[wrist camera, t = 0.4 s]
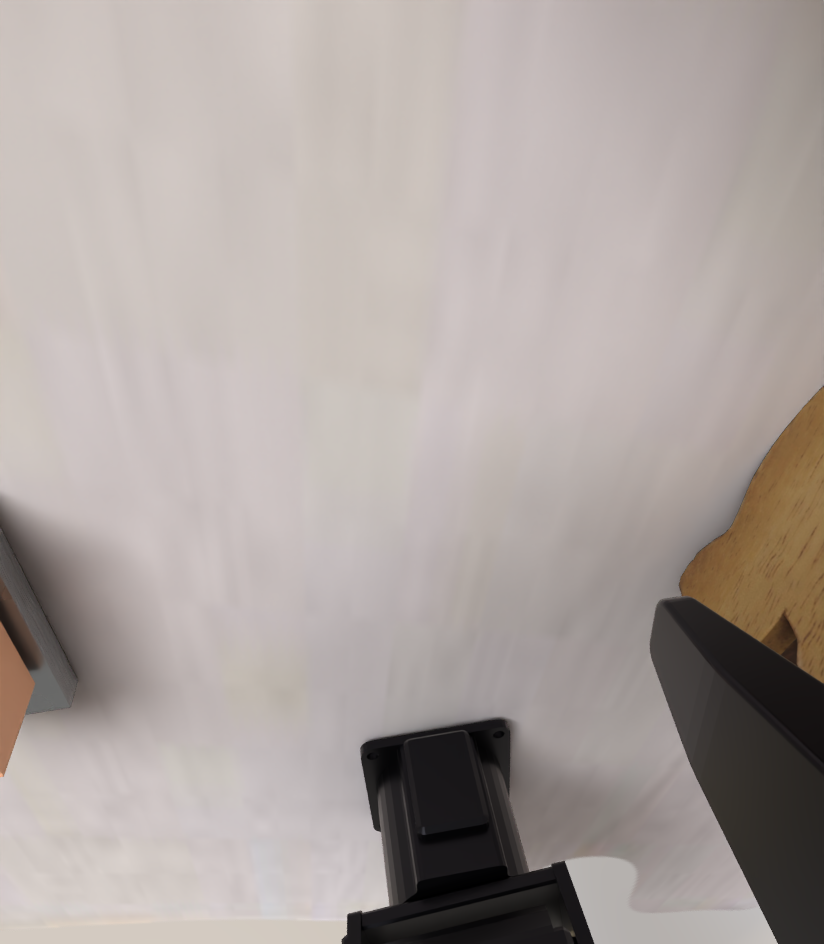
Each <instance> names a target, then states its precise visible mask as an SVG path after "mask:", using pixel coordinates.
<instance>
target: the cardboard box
mask: <svg viewBox="0 0 824 944" xmlns="http://www.w3.org/2000/svg"><path fill="white" fill-rule="evenodd" d="M34 686H35V682H34V680H33V678H32V677H31V675H30V673H29V671H28V669H27V668H26V666H25V664H24V662H23V660H22V659H21V657H20V655H19V653H18V652H17V650H16V648H15V646H14V644H13V643H12V641H11V639H10V637H9V635H8V634H7V632H6V630H5V628H4V626H3V625H2V623H1V621H0V777H3V776H4V774H5V771H6V768H7V765H8V762H9V759H10V756H11V754H12V751H13V748H14V745H15V742H16V739H17V736H18V733H19V730H20V727H21V724H22V721H23V718H24V715H25V712H26V710H27V707H28V704H29V701H30V698H31V695H32V692H33V689H34Z"/></svg>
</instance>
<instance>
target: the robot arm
mask: <svg viewBox="0 0 824 944" xmlns="http://www.w3.org/2000/svg"><path fill="white" fill-rule="evenodd" d="M650 653H651V658H652V661H653V664H654V667H655V669H656V672H657V675H658V678H659V680H660V683H661V686H662V689H663V691H664V694H665V697H666V700H667V702H668V705H669V708H670V711H671V713H672V716H673V719H674V722H675V724H676V727H677V730H678V733H679V735H680V738H681V741H682V744H683V746H684V749H685V752H686V754H687V757H688V759H689V762H690V764H691V767H692V769H693V771H694V773H695V776H696V778H697V780H698V782H699V784H700V786H701V788H702V790H703V792H704V794H705V796H706V798H707V800H708V802H709V804H710V806H711V809H712V811H713V813H714V815H715V817H716V819H717V821H718V823H719V825H720V827H721V829H722V831H723V833H724V835H725V837H726V839H727V841H728V843H729V845H730V847H731V849H732V851H733V853H734V855H735V857H736V859H737V861H738V863H739V865H740V867H741V869H742V871H743V874H744V876H745V878H746V880H747V882H748V884H749V886H750V888H751V890H752V892H753V894H754V896H755V898H756V900H757V902H758V904H759V906H760V908H761V910H762V912H763V914H764V916H765V918H766V920H767V922H768V924H769V926H770V928H771V930H772V932H773V934H774V936H775V939H776V940H777V943H778V944H824V683H822V682H821V681H819V680H818V679H816V678H815V677H813V676H812V675H810V674H809V673H807V672H806V671H804V670H802V669H801V668H799V667H798V666H796V665H795V664H793V663H792V662H790V661H789V660H787V659H786V658H784V657H783V656H781V655H780V654H778V653H777V652H775V651H774V650H772V649H771V648H769V647H768V646H766V645H764V644H763V643H761V642H760V641H758V640H757V639H755V638H754V637H752V636H751V635H749V634H748V633H746V632H745V631H743V630H742V629H740V628H739V627H737V626H736V625H734V624H733V623H731V622H730V621H728V620H727V619H725V618H723V617H722V616H720V615H719V614H717V613H716V612H714V611H713V610H711V609H710V608H708V607H707V606H705V605H704V604H702V603H701V602H699V601H698V600H696V599H694V598H692V597H690V596H680V597H673V598H666V599H662V600H660V601H659V602H658V604H657V606H656V610H655V616H654V621H653V627H652V633H651V639H650ZM360 753H361V761H362V766H363V772H364V777H365V782H366V788H367V793H368V799H369V804H370V810H371V815H372V820H373V826H374V829H375V830H377V831H380V832H381V836H382V844H383V853H384V862H385V870H386V879H387V888H388V897H389V905H390V906H389V907H385V908H381V909H377V910H373V911H369V912H364V913H362V911H358V912H354V913H349V914H348V915H347V935H346V936H345V937H344V938H343V939H342V944H594V942H593V939H592V936H591V933H590V930H589V928H588V925H587V922H586V919H585V917H584V914H583V911H582V908H581V905H580V903H579V900H578V897H577V894H576V891H575V888H574V886H573V883H572V880H571V877H570V875H569V872H568V869H567V866H566V864H565V861H561V862H557V863H553V864H551V866H552V867H548V868H544V869H540V870H536V871H532V872H529V869H528V866H527V862H526V858H525V855H524V851H523V847H522V844H521V840H520V836H519V833H518V829H517V825H516V822H515V818H514V814H513V811H512V807H511V803H510V800H509V777H510V731H509V728H508V724H507V722H506V721H505V720H492V721H486V722H480V723H474V724H468V725H462V726H457V727H451V728H445V729H439V730H433V731H427V732H421V733H415V734H409V735H404V736H398V737H392V738H386V739H380V740H374V741H369V742H366V743H364V744H363V745H362V746H361V748H360Z"/></svg>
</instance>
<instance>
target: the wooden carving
mask: <svg viewBox="0 0 824 944" xmlns="http://www.w3.org/2000/svg"><path fill="white" fill-rule="evenodd" d="M679 588H680V591H681V594H682V596H690V597H692V598H694V599H696V600H698V601H699V602H701V603H702V604H704V605H705V606H707V607H708V608H710V609H711V610H713V611H714V612H716V613H717V614H719V615H720V616H722V617H723V618H725V619H727V620H728V621H730V622H731V623H733V624H734V625H736V626H737V627H739V628H740V629H742V630H743V631H745V632H746V633H748V634H749V635H751V636H752V637H754V638H755V639H757V640H758V641H760V642H761V643H763V644H764V645H766V646H768V647H769V648H771V649H772V650H774V651H775V652H777V653H778V654H780V655H781V656H783V657H784V658H786V659H787V660H789V661H790V662H792V663H793V664H795V665H796V666H798V667H799V668H801V669H802V670H804V671H806V672H807V673H809V674H810V675H812V676H813V677H815V678H816V679H818V680H819V681H821V682H822V683H824V386H823V387H822V388H821V389H820V390H819V391H818V392H817V393H816V394H815V395H814V396H813V397H812V399H811V400H810V401H809V402H808V403H807V404H806V405H805V406H804V407H803V408H802V410H801V411H800V412H799V413H798V414H797V415H796V417H795V418H794V419H793V420H792V421H791V423H790V424H789V425H788V426H787V428H786V429H785V430H784V432H783V433H782V434H781V435H780V437H779V438H778V439H777V441H776V442H775V443H774V445H773V446H772V448H771V449H770V451H769V452H768V454H767V455H766V457H765V458H764V460H763V462H762V463H761V465H760V467H759V468H758V470H757V472H756V473H755V475H754V477H753V479H752V481H751V483H750V486H749V488H748V490H747V492H746V495H745V497H744V499H743V502H742V504H741V507H740V509H739V511H738V513H737V516H736V518H735V520H734V522H733V524H732V526H731V528H730V529H729V530H728V531H727V532H726V533H725V534H723V535H721V536H720V537H718V538H716V539H715V540H713V541H712V542H711V543H709V544H708V545H707V546H706V547H704V548H703V549H702V550H701V551H700V552H698V553H697V554H696V556H695V559H694V560H693V561H692V562H691V563H689V565H688V566H687V568H686V570H685V571H684V573H683V575H682V576H681V579H680V583H679Z"/></svg>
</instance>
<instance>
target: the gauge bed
mask: <svg viewBox="0 0 824 944" xmlns="http://www.w3.org/2000/svg"><path fill="white" fill-rule="evenodd" d="M0 621H1V623H2V625H3V626H4V628H5V630H6V632H7V634H8V635H9V637H10V639H11V641H12V643H13V644H14V646H15V648H16V650H17V652H18V653H19V655H20V657H21V659H22V660H23V662H24V664H25V666H26V668H27V669H28V671H29V673H30V675H31V677H32V678H33V680H34V682H35V686H34V689H33V692H32V695H31V698H30V701H29V704H28V707H27V710H26V712H25V715H26V714H33V713H39V712H45V711H51V710H57V709H64V708H70V707H71V704H72V700H73V696H74V693H75V689H76V686H77V682H78V680H77V678H76V676H75V674H74V672H73V670H72V668H71V666H70V664H69V662H68V660H67V658H66V656H65V654H64V652H63V650H62V648H61V646H60V644H59V642H58V640H57V638H56V636H55V634H54V632H53V630H52V628H51V626H50V624H49V622H48V620H47V618H46V616H45V615H44V613H43V611H42V609H41V607H40V605H39V603H38V601H37V599H36V597H35V595H34V593H33V591H32V589H31V587H30V585H29V583H28V581H27V579H26V577H25V575H24V573H23V571H22V569H21V567H20V565H19V563H18V561H17V559H16V557H15V555H14V553H13V551H12V549H11V547H10V545H9V543H8V541H7V539H6V537H5V535H4V533H3V531H2V529H1V527H0Z"/></svg>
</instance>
